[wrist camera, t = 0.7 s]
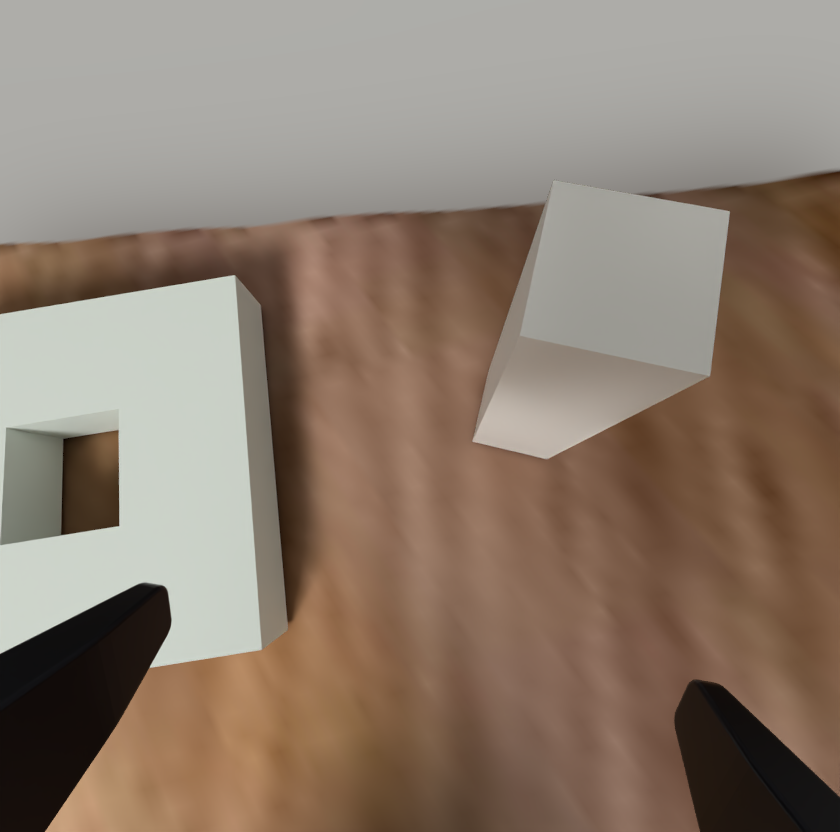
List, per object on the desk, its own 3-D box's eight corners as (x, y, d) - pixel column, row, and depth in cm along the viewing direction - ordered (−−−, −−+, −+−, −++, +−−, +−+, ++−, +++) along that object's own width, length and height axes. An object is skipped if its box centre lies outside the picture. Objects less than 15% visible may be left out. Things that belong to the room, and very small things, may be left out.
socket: (288, 629, 20) (261, 649, 17) (-62, 685, 20) (-148, 714, 17) (260, 304, 23) (235, 275, 20) (-36, 354, 24) (-105, 331, 21)
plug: (546, 459, 21) (709, 376, 8) (472, 441, 21) (519, 336, 9) (560, 388, 22) (730, 211, 9) (488, 371, 22) (553, 179, 9)
